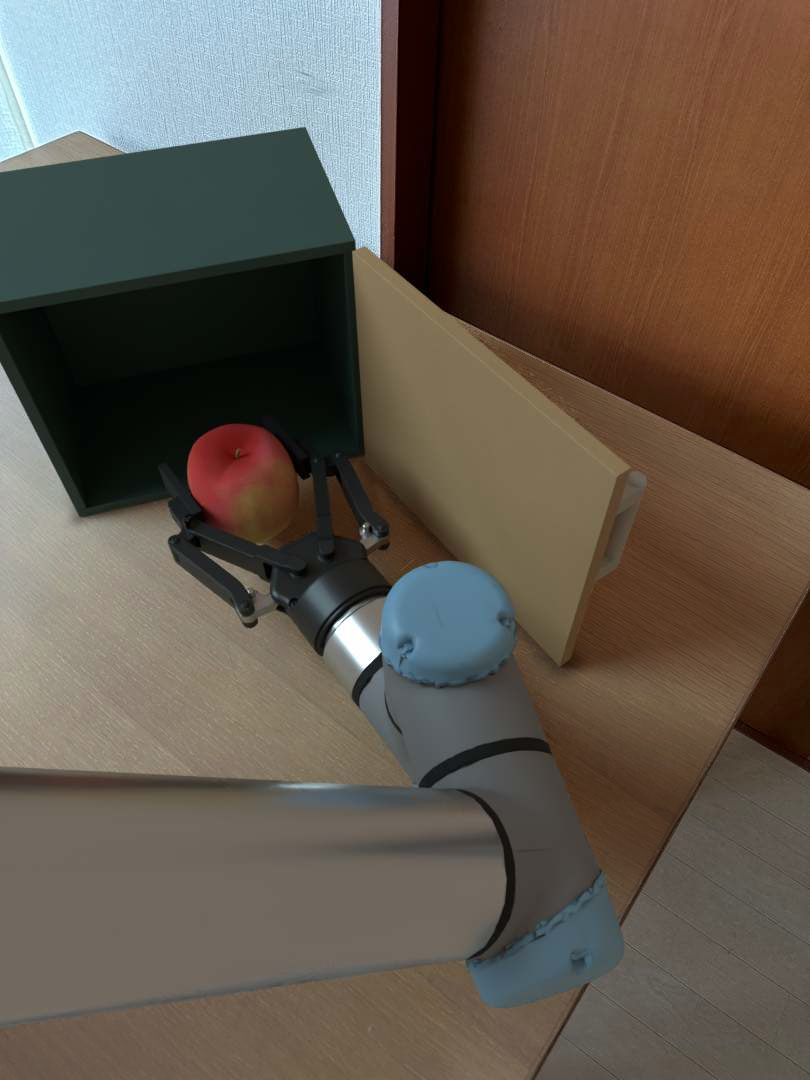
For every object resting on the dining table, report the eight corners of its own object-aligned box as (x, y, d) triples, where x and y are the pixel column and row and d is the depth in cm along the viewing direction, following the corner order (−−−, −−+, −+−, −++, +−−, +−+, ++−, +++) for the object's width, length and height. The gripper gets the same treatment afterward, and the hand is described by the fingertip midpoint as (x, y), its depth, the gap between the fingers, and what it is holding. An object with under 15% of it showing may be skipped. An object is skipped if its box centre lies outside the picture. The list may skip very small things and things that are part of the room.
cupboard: (368, 454, 82) (355, 240, 63) (79, 517, 78) (-29, 306, 59) (327, 340, 93) (305, 126, 74) (70, 390, 88) (-25, 175, 69)
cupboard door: (422, 431, 84) (425, 219, 65) (620, 623, 71) (698, 425, 52) (365, 462, 82) (351, 251, 63) (559, 667, 68) (617, 476, 49)
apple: (186, 559, 73) (159, 485, 65) (217, 478, 79) (195, 401, 71) (293, 572, 72) (279, 499, 64) (316, 489, 78) (306, 412, 70)
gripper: (239, 729, 61) (113, 534, 72) (473, 583, 69) (326, 426, 80) (221, 682, 55) (86, 477, 66) (479, 527, 63) (319, 366, 74)
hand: (217, 449), depth 73 cm, fingers closed on apple, 9 cm apart
